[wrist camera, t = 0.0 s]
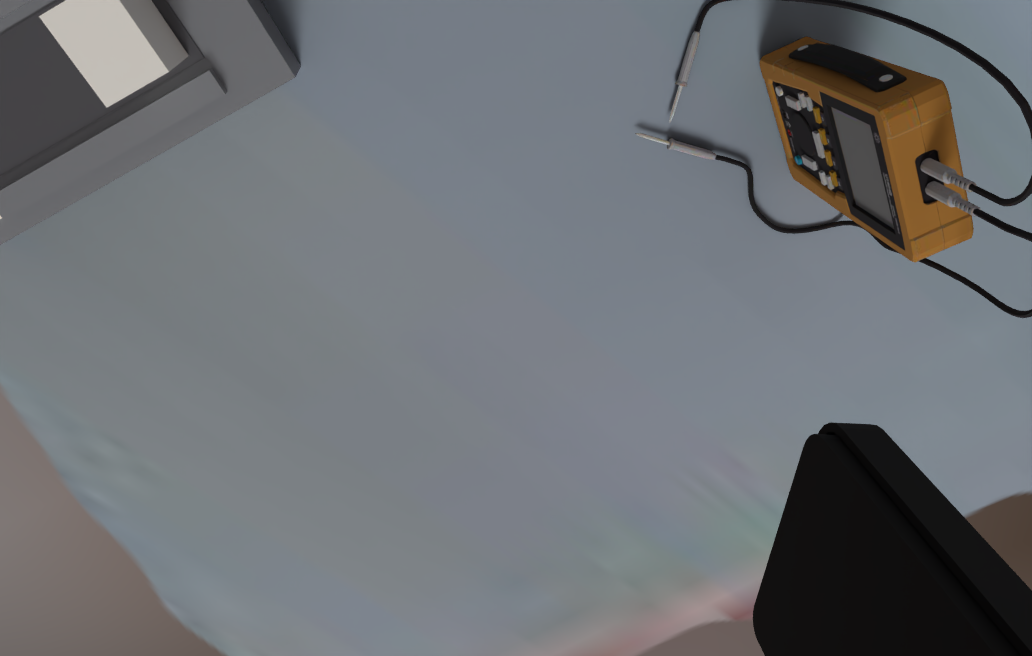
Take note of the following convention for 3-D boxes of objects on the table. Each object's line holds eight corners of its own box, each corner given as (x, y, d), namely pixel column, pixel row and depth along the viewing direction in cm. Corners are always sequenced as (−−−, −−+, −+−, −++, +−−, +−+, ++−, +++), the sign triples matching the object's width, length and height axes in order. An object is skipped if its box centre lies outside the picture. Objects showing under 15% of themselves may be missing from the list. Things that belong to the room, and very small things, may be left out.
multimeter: (602, 48, 45) (745, 147, 27) (787, -38, 44) (1059, 6, 26) (690, 289, 51) (852, 497, 33) (852, 217, 51) (1105, 391, 33)
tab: (71, 5, 38) (38, 16, 34) (130, -31, 38) (103, -23, 34) (132, 88, 40) (106, 108, 36) (188, 55, 39) (168, 71, 36)
